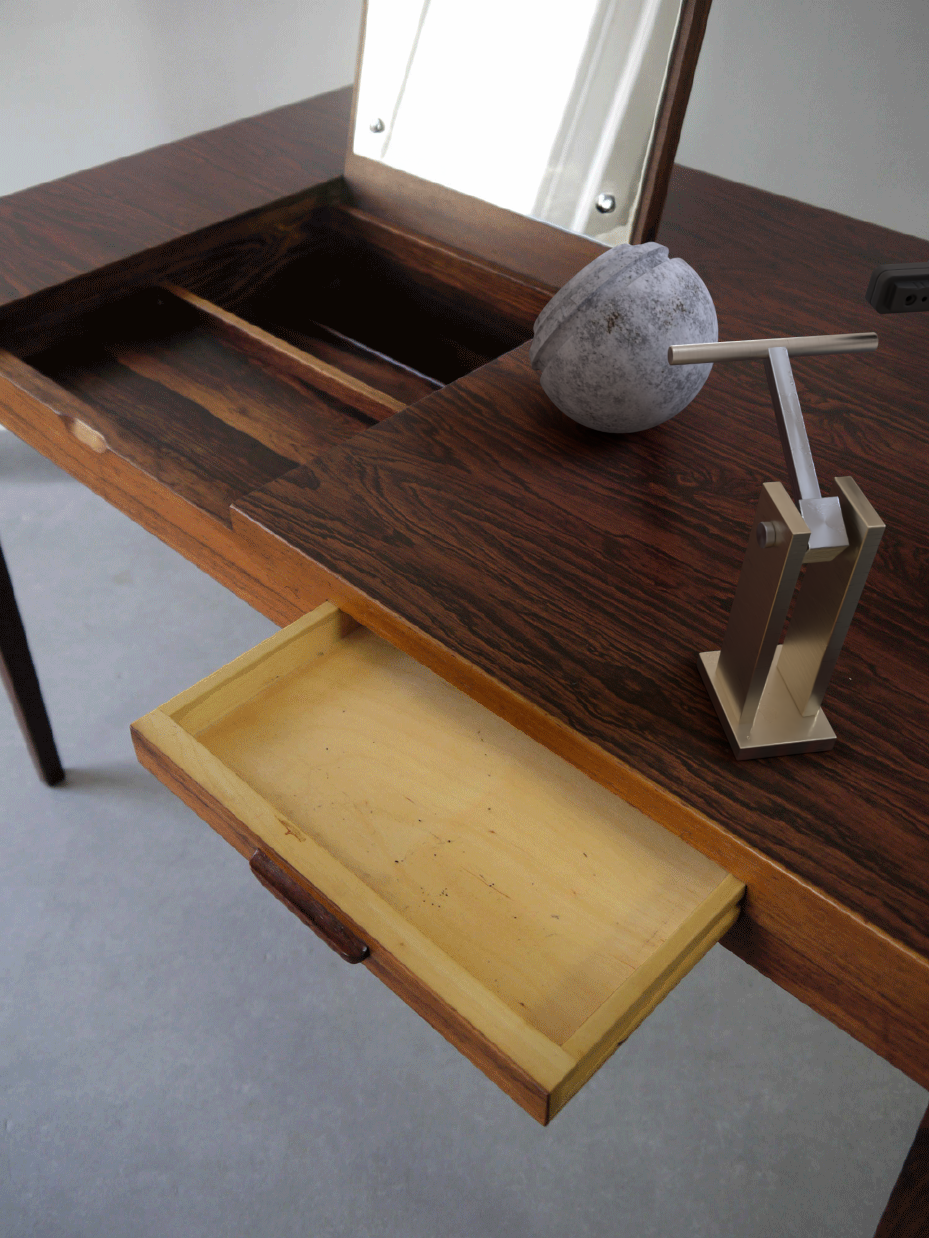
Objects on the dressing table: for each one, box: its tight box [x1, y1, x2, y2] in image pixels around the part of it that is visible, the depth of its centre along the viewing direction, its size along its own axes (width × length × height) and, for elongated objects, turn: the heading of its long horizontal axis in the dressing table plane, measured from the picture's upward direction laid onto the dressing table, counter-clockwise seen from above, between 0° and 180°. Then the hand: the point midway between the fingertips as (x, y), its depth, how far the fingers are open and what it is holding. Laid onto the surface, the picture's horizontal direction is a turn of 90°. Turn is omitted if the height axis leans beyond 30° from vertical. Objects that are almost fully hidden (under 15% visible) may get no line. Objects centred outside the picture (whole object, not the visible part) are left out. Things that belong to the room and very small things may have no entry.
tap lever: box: [667, 331, 879, 564], centre depth 58 cm, size 13×12×2 cm
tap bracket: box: [695, 475, 886, 762], centre depth 60 cm, size 8×6×16 cm
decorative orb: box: [528, 241, 719, 434], centre depth 84 cm, size 15×14×15 cm
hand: (874, 290), depth 58 cm, fingers closed
